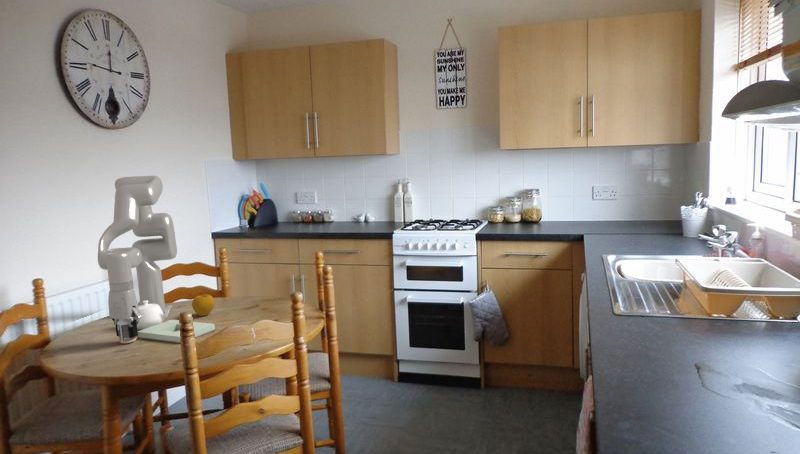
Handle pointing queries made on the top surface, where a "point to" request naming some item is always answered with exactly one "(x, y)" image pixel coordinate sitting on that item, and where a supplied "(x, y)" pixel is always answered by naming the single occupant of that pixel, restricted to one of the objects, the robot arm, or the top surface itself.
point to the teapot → (151, 315)
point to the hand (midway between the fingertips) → (127, 335)
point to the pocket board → (173, 331)
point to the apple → (203, 304)
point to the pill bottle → (124, 331)
